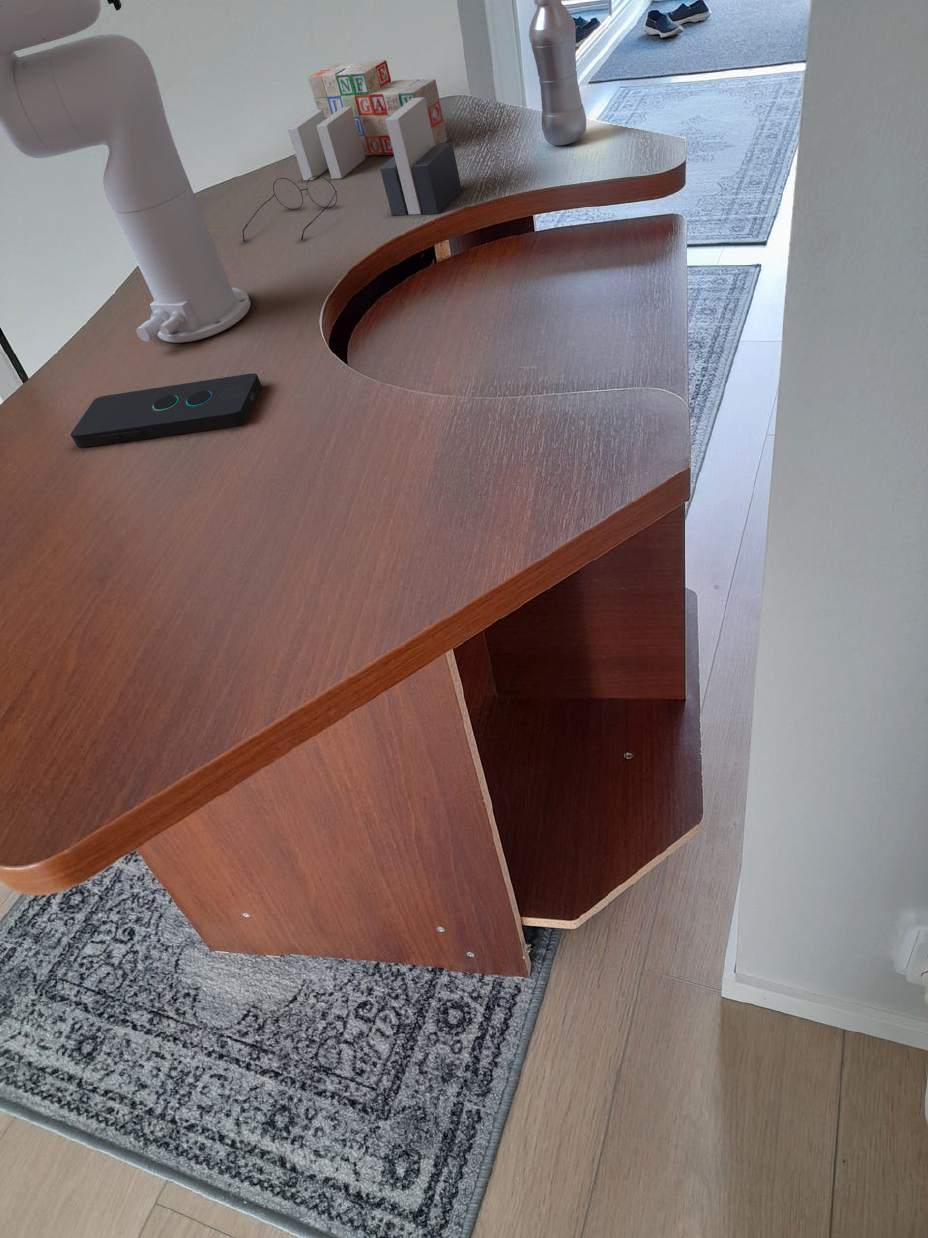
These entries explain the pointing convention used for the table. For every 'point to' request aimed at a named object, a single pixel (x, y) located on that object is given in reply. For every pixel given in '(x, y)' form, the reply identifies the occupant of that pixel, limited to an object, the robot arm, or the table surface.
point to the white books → (327, 143)
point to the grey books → (425, 180)
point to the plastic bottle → (557, 72)
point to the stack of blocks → (374, 100)
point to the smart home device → (168, 411)
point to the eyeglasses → (299, 207)
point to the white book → (410, 146)
